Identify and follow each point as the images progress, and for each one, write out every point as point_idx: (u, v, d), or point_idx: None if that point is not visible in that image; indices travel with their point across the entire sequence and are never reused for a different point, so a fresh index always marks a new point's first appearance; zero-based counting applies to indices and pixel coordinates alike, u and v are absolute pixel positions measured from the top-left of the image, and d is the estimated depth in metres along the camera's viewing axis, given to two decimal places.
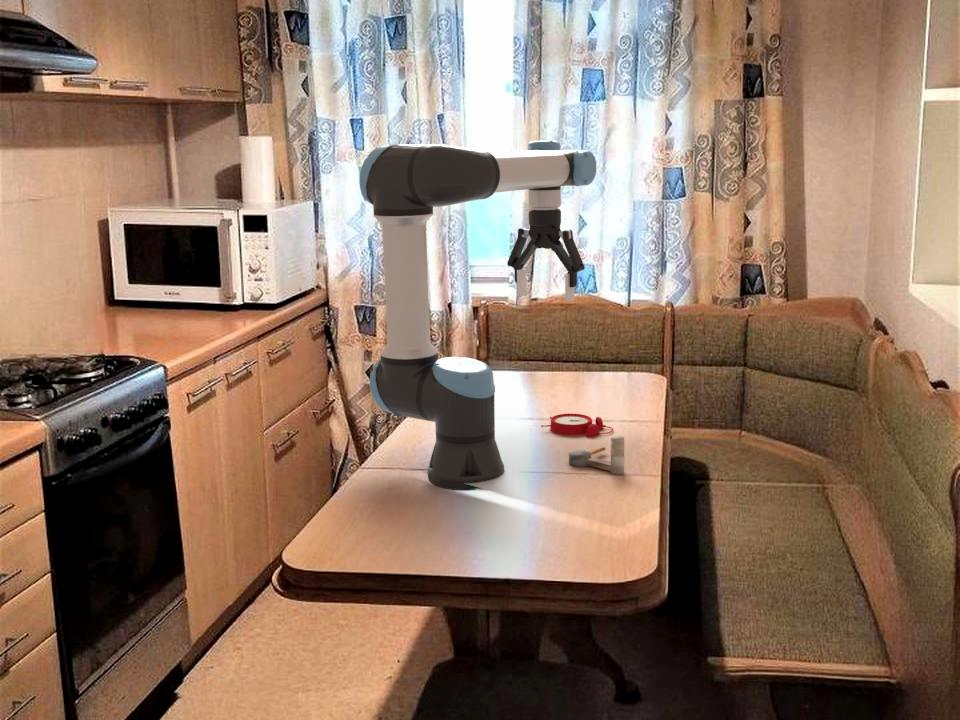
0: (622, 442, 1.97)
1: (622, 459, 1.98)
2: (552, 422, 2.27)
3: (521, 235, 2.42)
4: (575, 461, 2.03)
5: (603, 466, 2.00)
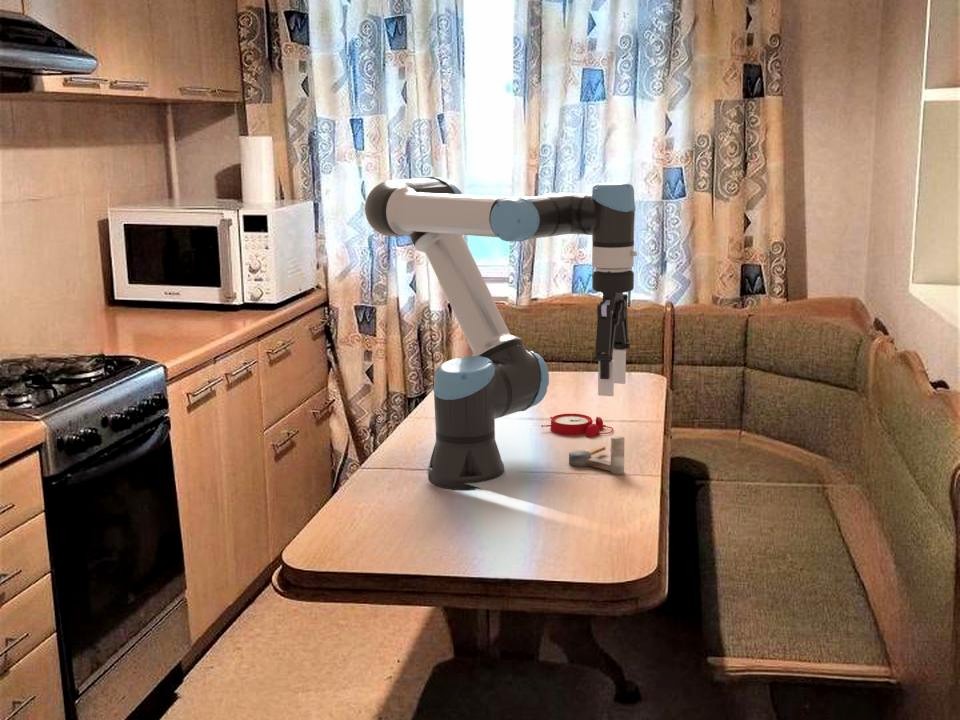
0: (622, 442, 1.97)
1: (622, 459, 1.98)
2: (552, 422, 2.27)
3: None
4: (575, 461, 2.03)
5: (603, 466, 2.00)
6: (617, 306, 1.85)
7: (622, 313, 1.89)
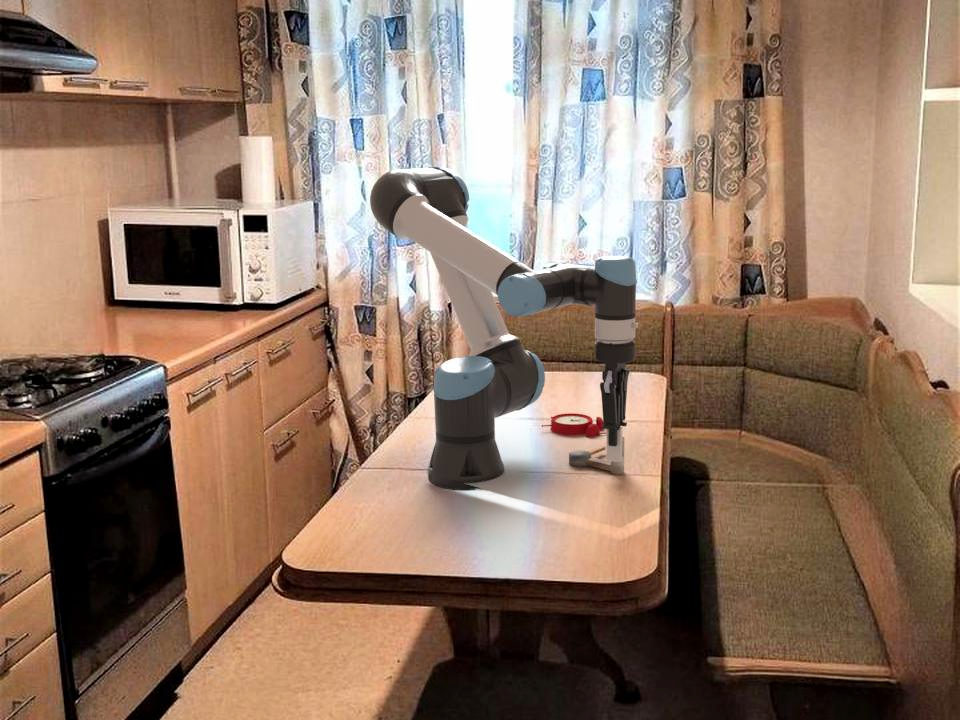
0: (622, 442, 1.97)
1: (622, 459, 1.98)
2: (552, 422, 2.27)
3: None
4: (575, 461, 2.03)
5: (603, 466, 2.00)
6: (619, 378, 1.90)
7: (623, 382, 1.92)
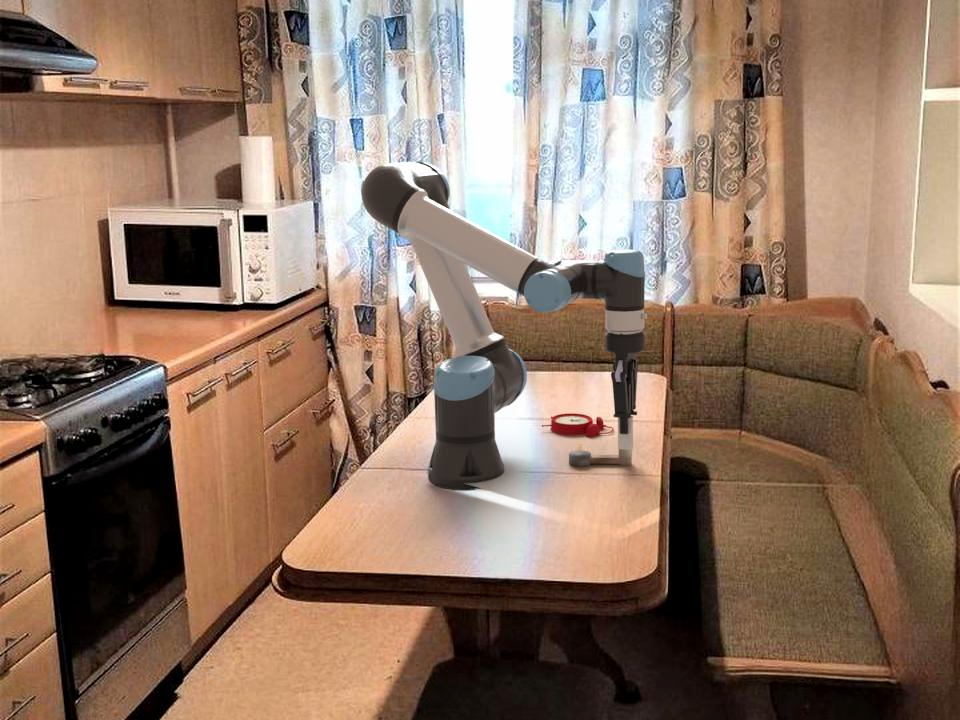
0: None
1: None
2: (552, 422, 2.27)
3: None
4: (582, 461, 2.03)
5: (612, 461, 2.04)
6: (629, 367, 1.96)
7: (633, 372, 1.99)
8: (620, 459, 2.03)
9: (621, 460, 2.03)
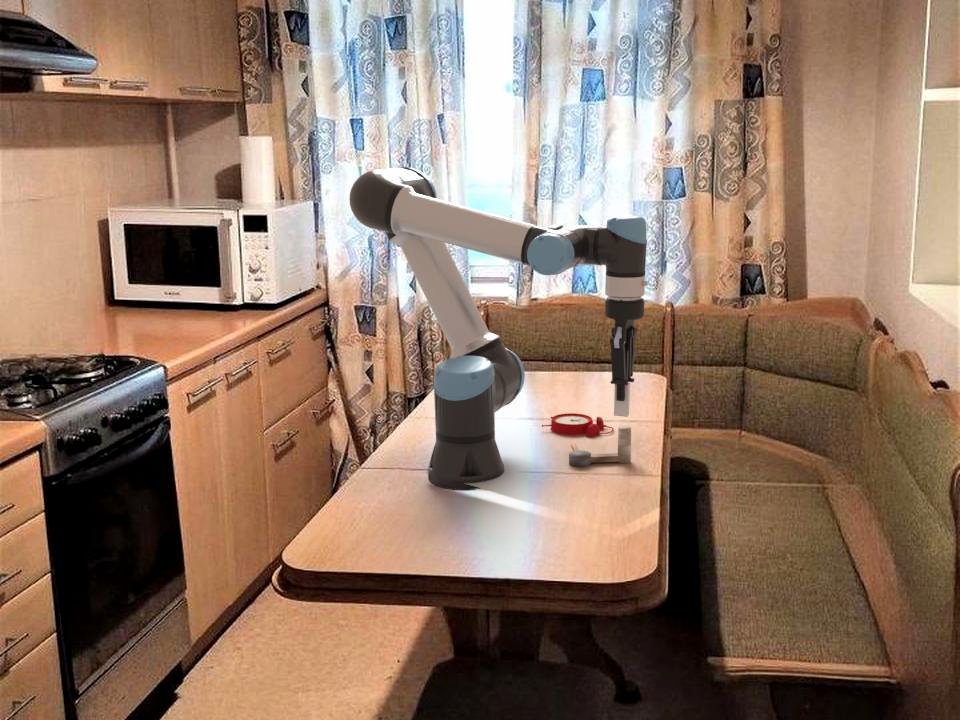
0: None
1: (630, 447, 2.05)
2: (552, 422, 2.27)
3: None
4: (583, 461, 2.03)
5: (612, 459, 2.05)
6: (628, 334, 1.96)
7: (631, 339, 1.98)
8: (620, 457, 2.05)
9: (621, 458, 2.04)
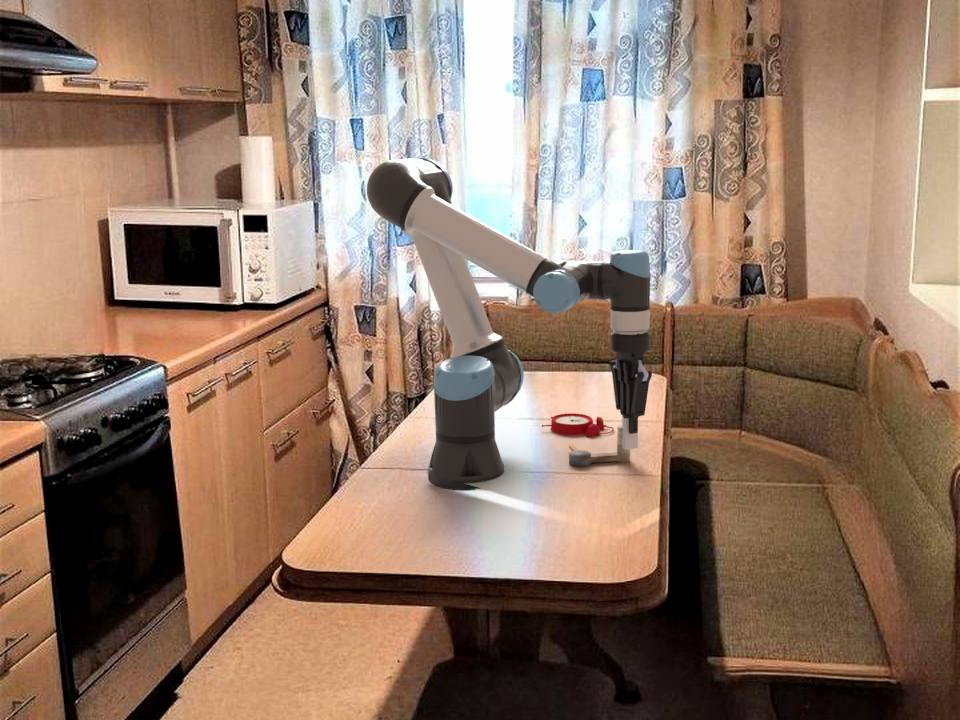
0: None
1: None
2: (553, 422, 2.27)
3: (613, 367, 2.03)
4: (584, 461, 2.03)
5: (612, 458, 2.05)
6: None
7: None
8: (620, 456, 2.05)
9: (621, 457, 2.05)
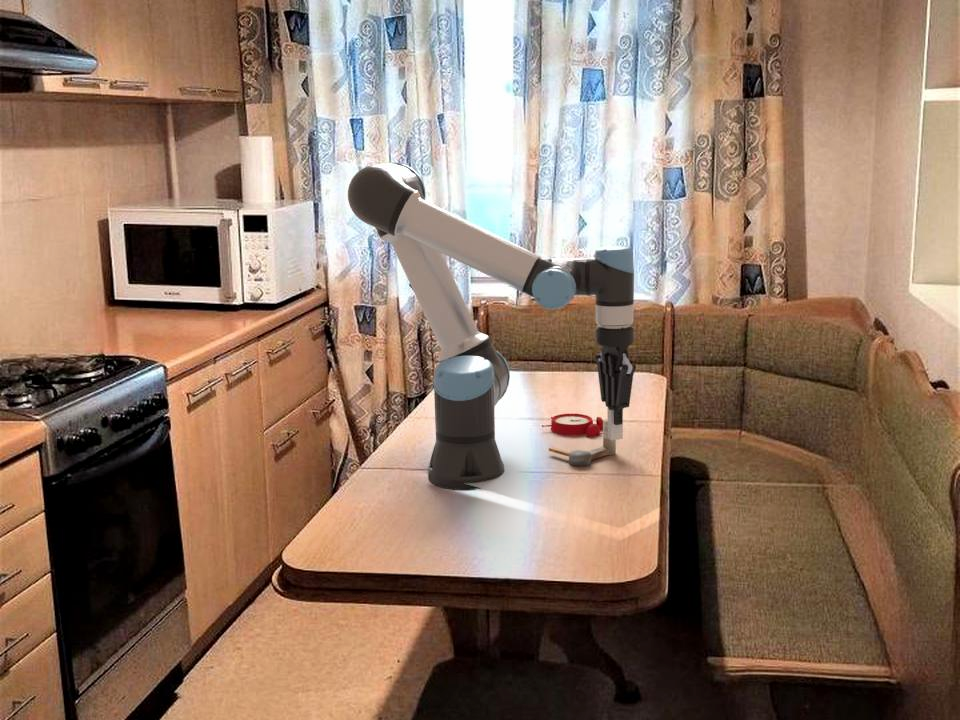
0: None
1: None
2: (553, 422, 2.27)
3: (598, 360, 2.09)
4: (589, 459, 2.04)
5: (604, 453, 2.08)
6: None
7: None
8: (609, 449, 2.09)
9: (610, 450, 2.10)
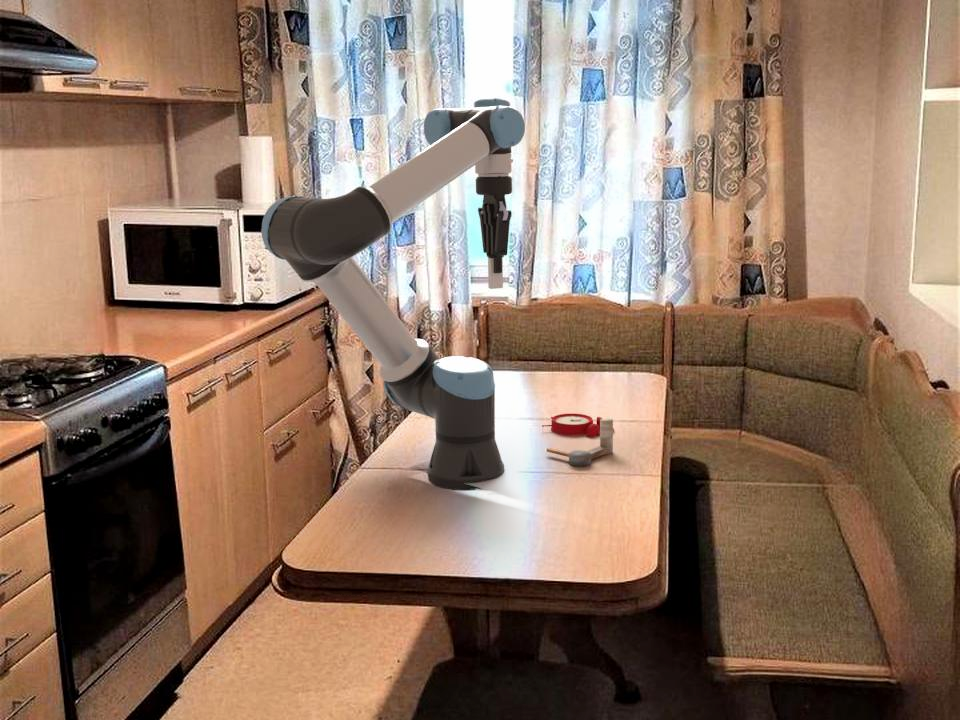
0: None
1: None
2: (553, 422, 2.27)
3: (480, 213, 2.18)
4: (589, 459, 2.04)
5: (602, 452, 2.09)
6: None
7: None
8: (607, 449, 2.10)
9: (608, 449, 2.10)
